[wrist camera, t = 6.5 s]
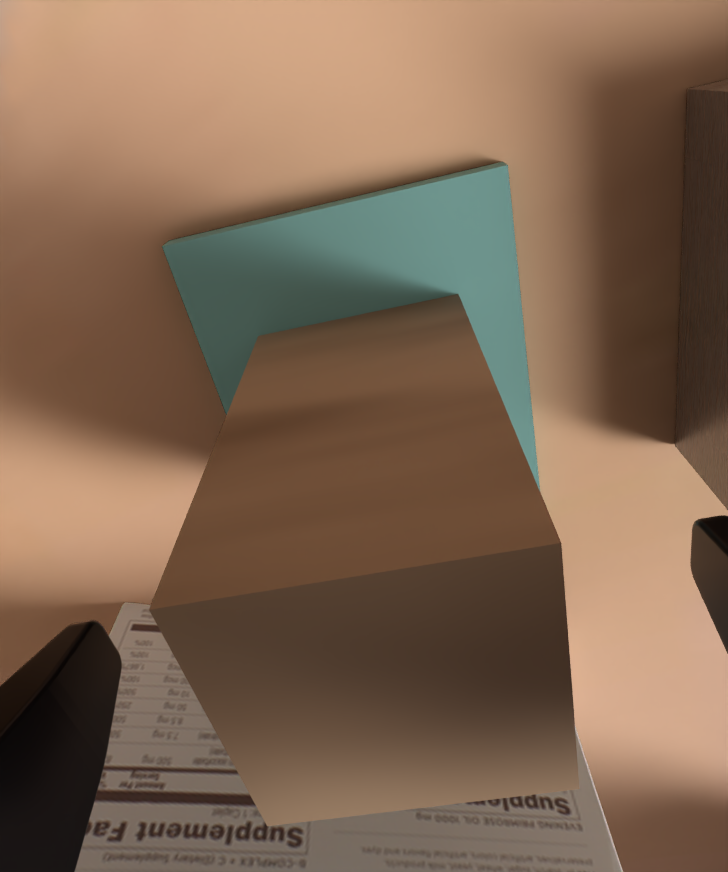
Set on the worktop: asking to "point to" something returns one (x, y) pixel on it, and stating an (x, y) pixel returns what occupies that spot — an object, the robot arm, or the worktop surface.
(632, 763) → the worktop surface
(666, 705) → the worktop surface
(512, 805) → the supplement box
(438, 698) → the peg
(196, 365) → the worktop surface
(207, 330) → the mat
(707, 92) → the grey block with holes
